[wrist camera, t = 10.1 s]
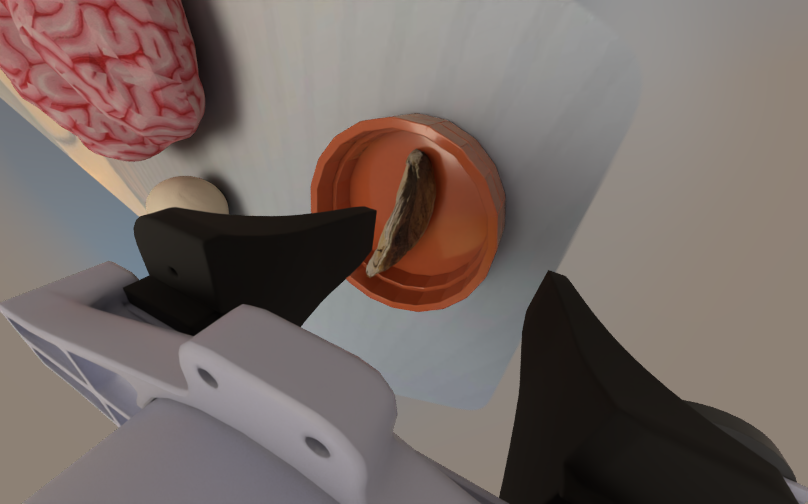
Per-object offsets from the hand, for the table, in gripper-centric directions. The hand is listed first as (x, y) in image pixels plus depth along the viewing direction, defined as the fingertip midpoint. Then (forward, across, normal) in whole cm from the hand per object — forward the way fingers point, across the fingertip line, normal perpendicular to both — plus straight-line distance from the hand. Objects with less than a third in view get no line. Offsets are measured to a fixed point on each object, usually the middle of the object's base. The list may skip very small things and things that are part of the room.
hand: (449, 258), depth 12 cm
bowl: (+10, +5, +3) cm, 12 cm away
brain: (+11, +33, -4) cm, 35 cm away
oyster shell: (+10, +6, +4) cm, 12 cm away
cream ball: (+11, +28, +10) cm, 32 cm away
